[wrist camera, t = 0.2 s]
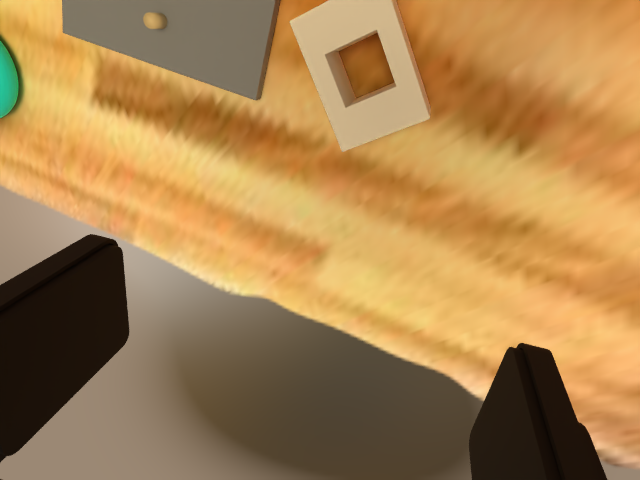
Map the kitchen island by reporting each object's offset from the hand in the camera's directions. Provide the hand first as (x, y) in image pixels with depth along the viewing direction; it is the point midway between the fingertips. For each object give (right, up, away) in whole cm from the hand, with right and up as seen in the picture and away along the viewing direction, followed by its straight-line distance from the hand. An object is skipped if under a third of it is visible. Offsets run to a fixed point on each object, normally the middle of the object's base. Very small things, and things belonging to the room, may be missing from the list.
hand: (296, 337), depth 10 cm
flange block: (+5, +17, +25) cm, 30 cm away
